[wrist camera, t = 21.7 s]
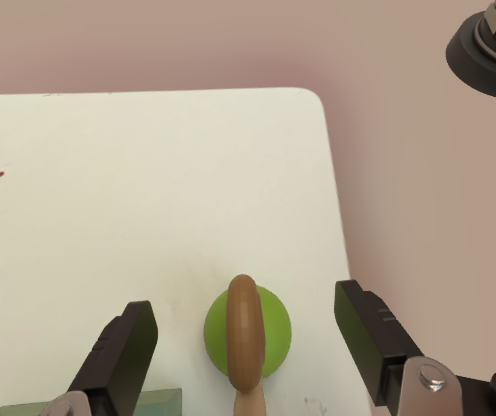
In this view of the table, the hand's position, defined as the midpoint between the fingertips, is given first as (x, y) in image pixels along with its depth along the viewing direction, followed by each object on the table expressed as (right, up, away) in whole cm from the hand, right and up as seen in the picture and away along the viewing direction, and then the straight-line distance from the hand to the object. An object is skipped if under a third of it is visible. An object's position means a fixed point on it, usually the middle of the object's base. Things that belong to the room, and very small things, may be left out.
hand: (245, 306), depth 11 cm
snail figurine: (0, -5, +8) cm, 9 cm away
